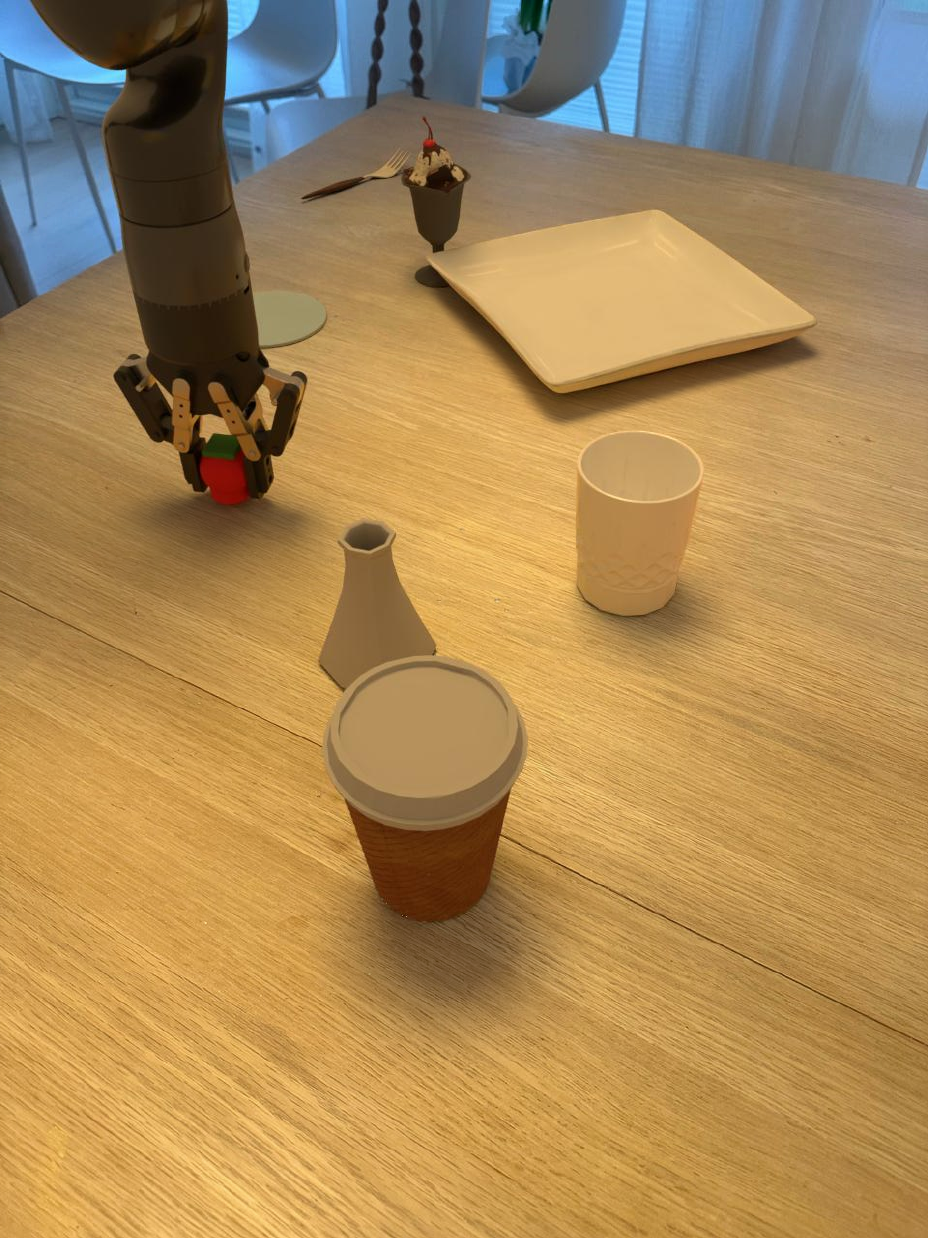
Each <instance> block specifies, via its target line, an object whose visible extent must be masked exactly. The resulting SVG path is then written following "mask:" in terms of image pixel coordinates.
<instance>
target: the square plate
mask: <svg viewBox="0 0 928 1238" xmlns="http://www.w3.org/2000/svg"><path fill="white" fill-rule="evenodd" d="M425 259H426V262H428V263H429V265H432V267H433V268H434V269H435V270H437V271H438V272H439V274H440V275H441V276H442V277H443V278H444V279H445V280H446V281H447V282H448V283H449V284H450V287H451V289H453V290H454V291H455V292H456V293H457V294H458V295H459V296H461V297H462V299H464V300H465V302H468V304H469V305H470V306H471V307H473V308H474V309H475V310H476V311H477V312H478V313H479V314H480V315H481V316H482V317H483V318H484V320H486V321H487V322H488V323H489V324H490V325H491V326H492V327H493V328H494V329H495V331H497V333H498V334H500V336H502V338H503V339H504V340H505V341H506V342H507V343H508V344H509V345H510V347H511V348H512V349H513V350H514V352H515V353H516V354H517V355H518V356H519V357H520V358H521V360H522V361H523V362H524V363H525V364H526V366H527V367H528V368H529V370H531V372H532V373H533V374H534V375H535V376H536V377H537V378H538V379H539V380H540V382H542V383H543V384H544V385H545V386H546V387H547V388H548V389H549V390H551V391H553V392H554V393H557V394H566V393H567V394H568V393H572V392H576V391H582V390H586V389H591V388H595V387H598V386H602V385H608V384H612V383H616V382H620V381H624V380H628V379H629V380H630V379H632V378H636V377H641V376H644V375H649V374H652V373H657V372H660V371H665V370H668V369H673V368H677V367H680V366H684V365H688V364H689V365H690V364H692V363H693V364H694V363H697V362H701V361H706V360H710V359H715V358H719V357H725V356H730V355H734V354H739V353H743V352H747V351H752V350H755V349H759V348H762V347H766V346H770V345H774V344H777V343H781V342H784V341H787V340H789V339H792V338H795V337H797V336H799V335H801V334H803V333H804V332H806V331H808V330H810V329H812V328H814V327H815V326H816V325H817V324H818V319H816V318H815V316H814V315H812V314H811V313H810V312H808V311H807V310H805V309H804V308H803V307H801V306H800V305H799V304H798V303H796V302H795V301H793V300H791V299H790V298H789V297H788V296H786V295H785V294H783V293H782V292H780V291H779V290H778V289H776V288H775V287H774V286H772V285H770V284H769V283H768V282H767V281H765V280H764V279H763V278H761V277H760V276H758V275H757V274H756V273H754V272H753V271H751V270H750V269H749V268H747V267H746V266H745V265H743V264H742V263H740V262H739V261H737V260H736V259H735V258H733V257H731V256H730V255H729V254H727V253H726V252H724V250H722V249H721V248H719V247H718V246H716V245H715V244H713V243H711V242H710V241H708V240H707V239H705V238H704V237H702V236H701V235H700V234H698V233H697V232H695V231H693V230H692V229H690V227H687V225H685V224H683V223H681V222H680V221H678V220H677V219H675V218H674V217H672V216H670V215H669V214H668V213H666V212H664V211H662V210H659V209H649V210H644V211H638V212H631V213H625V214H621V215H614V216H607V217H603V218H602V217H601V218H595V219H590V220H584V221H579V222H573V223H567V224H563V225H557V226H552V227H547V228H543V229H537V230H533V231H528V232H523V233H522V232H521V233H518V234H514V235H513V234H512V235H509V236H504V237H500V238H499V237H498V238H494V239H490V240H485V241H481V242H476V243H474V244H468V245H464V246H459V247H454V248H450V249H444V251H440V252H436V253H433V252H431V253H429V254H427V255H426V256H425Z"/></svg>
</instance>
